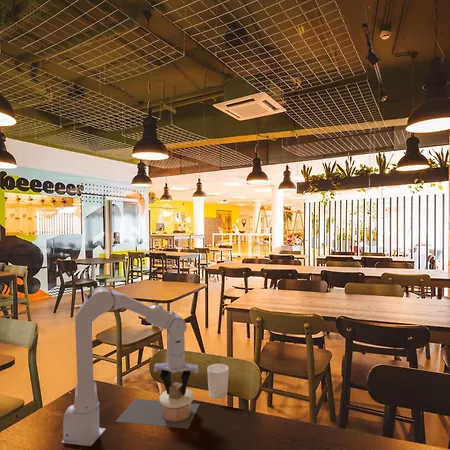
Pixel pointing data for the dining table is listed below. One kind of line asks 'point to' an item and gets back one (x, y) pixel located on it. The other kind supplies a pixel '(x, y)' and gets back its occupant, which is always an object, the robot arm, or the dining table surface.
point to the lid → (176, 397)
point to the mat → (152, 414)
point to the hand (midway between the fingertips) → (176, 393)
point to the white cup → (217, 380)
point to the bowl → (176, 413)
